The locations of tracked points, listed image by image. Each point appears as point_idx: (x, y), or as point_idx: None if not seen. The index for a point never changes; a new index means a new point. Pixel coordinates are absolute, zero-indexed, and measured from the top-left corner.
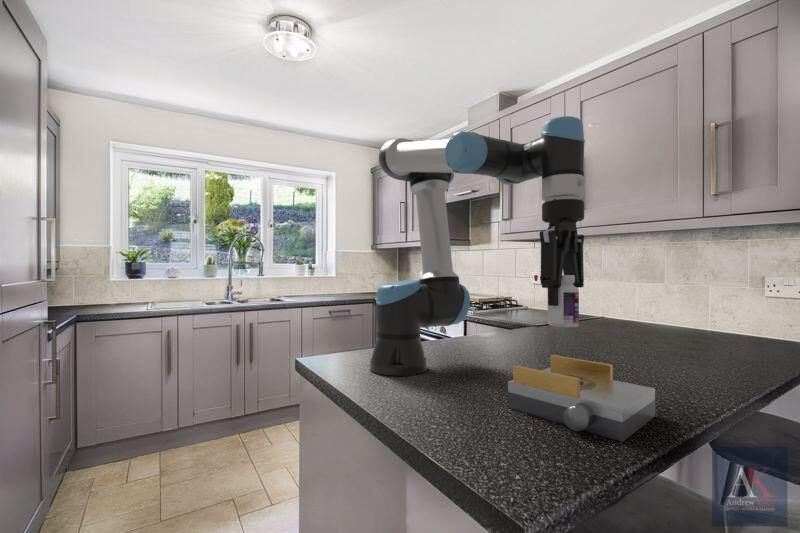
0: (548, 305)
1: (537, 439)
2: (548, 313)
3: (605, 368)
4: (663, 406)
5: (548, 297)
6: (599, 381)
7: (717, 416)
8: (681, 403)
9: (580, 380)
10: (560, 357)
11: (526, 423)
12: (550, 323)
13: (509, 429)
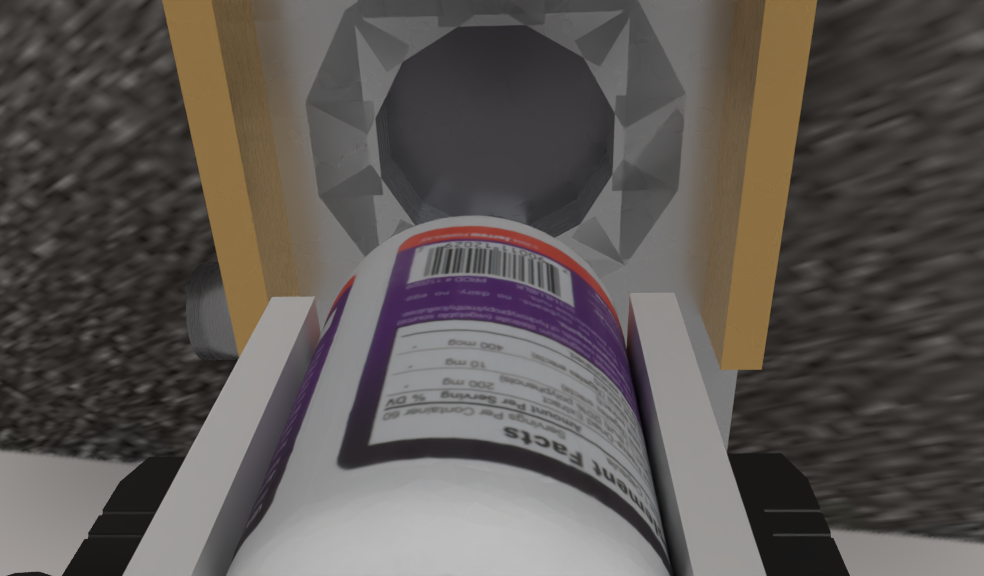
0: (213, 422)
1: (62, 207)
2: (240, 363)
3: (718, 332)
4: (875, 386)
5: (91, 539)
6: (655, 281)
7: (868, 528)
8: (979, 421)
9: (595, 204)
10: (763, 31)
11: (151, 88)
12: (344, 285)
13: (25, 76)
